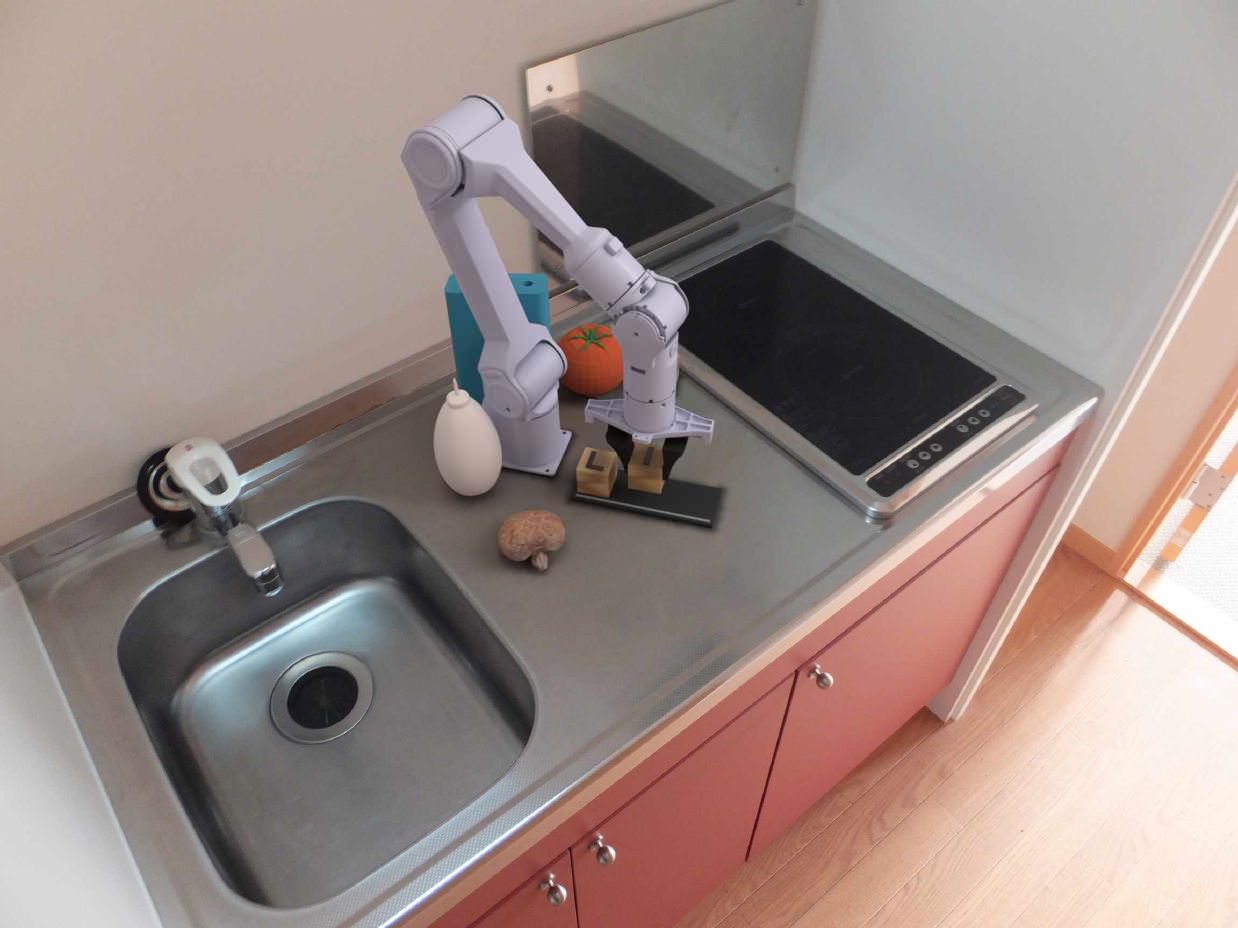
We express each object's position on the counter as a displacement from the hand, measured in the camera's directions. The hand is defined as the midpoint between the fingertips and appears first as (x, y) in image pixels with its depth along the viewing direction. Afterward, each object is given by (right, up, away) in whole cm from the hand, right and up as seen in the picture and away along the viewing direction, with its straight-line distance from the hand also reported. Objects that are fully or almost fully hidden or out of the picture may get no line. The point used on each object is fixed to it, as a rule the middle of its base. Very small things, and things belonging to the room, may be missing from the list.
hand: (647, 471), depth 104 cm
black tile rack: (0, -3, +3) cm, 4 cm away
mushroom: (-14, -9, -2) cm, 16 cm away
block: (-18, +7, +13) cm, 24 cm away
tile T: (+2, +12, +18) cm, 22 cm away
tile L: (-6, -1, +4) cm, 7 cm away
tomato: (-7, +12, +17) cm, 22 cm away
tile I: (0, -1, +1) cm, 1 cm away
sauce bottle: (-21, -2, +5) cm, 22 cm away
